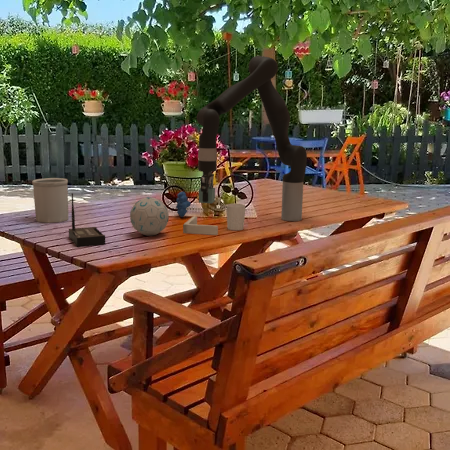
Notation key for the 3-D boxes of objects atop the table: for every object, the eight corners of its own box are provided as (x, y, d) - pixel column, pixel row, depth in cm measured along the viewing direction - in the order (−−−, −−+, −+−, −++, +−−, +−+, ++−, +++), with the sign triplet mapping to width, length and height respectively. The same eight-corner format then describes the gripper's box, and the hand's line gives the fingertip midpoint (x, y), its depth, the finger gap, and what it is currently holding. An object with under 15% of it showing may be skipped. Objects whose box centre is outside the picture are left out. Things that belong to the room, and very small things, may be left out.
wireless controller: (110, 245, 230) (109, 200, 227) (72, 248, 225) (70, 202, 221) (97, 233, 248) (96, 191, 244) (62, 236, 243) (60, 193, 239)
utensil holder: (26, 220, 267) (24, 180, 264) (51, 215, 280) (49, 176, 276) (52, 224, 261) (50, 183, 257) (76, 218, 274) (75, 179, 270)
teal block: (198, 202, 250) (198, 189, 249) (201, 200, 256) (202, 187, 254) (211, 203, 249) (212, 189, 248) (214, 201, 255) (215, 187, 253)
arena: (193, 224, 266) (193, 216, 265) (225, 226, 263) (225, 218, 262) (183, 233, 250) (183, 224, 249) (217, 235, 247) (217, 226, 246)
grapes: (194, 219, 276) (194, 192, 273) (180, 220, 274) (180, 193, 271) (187, 214, 287) (187, 188, 284) (173, 214, 284) (173, 189, 282)
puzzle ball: (150, 228, 256) (149, 193, 253) (176, 234, 247) (176, 197, 243) (122, 235, 245) (121, 197, 241) (149, 241, 235) (148, 202, 232)
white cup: (223, 227, 261) (223, 204, 259) (240, 226, 264) (241, 203, 261) (230, 231, 254) (230, 207, 251) (247, 230, 256) (248, 206, 254)
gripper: (212, 161, 241) (212, 204, 245) (220, 157, 255) (219, 198, 259) (194, 160, 243) (193, 203, 246) (202, 157, 256) (202, 197, 260)
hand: (207, 200), depth 252 cm, fingers closed on teal block, 5 cm apart
